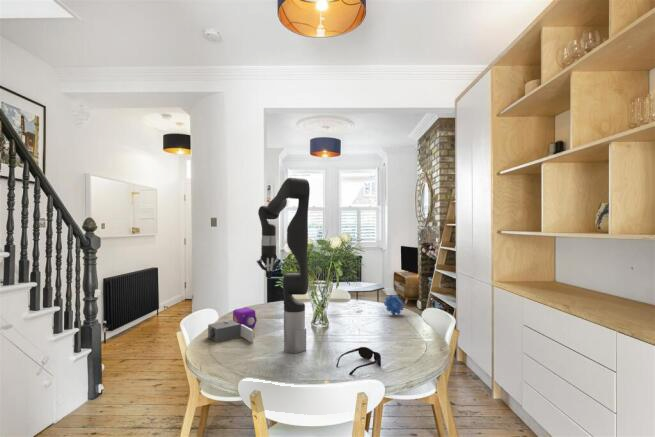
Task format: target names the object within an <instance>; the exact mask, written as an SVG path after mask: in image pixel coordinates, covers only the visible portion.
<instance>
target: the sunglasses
mask: <svg viewBox="0 0 655 437" xmlns="http://www.w3.org/2000/svg"><path fill="white" fill-rule="evenodd" d="M355 352H357V353H358V356H360V357H361V358H362V359H364V360H370V361H371V359H374V361H371V362H370V361H369V362H368V363H365V364H361V365H358V366H356V367H355V368H353V369H352V370H351V371H350V372H349V375H350V376H351V375H353V374H354V373H355V372H356V370H358V369H359V368H362V367H363V368H364V367H368V366H370V365H371V366H372V365H374V364H376V365H378V367H381V366H382V356H381V354H380V352H376V351H374V350H372V349H370V348H369V347H367V346H360V347H357V348H354V349H351V350H348V351H346V352H344V353H342V354H341V355H340V356H339V357H338V360H337V362H336V368H339V362H340V360H341V358H342V357H343V356H345V355H348V354H352V353H355Z"/></svg>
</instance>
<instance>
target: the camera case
mask: <svg viewBox="0 0 655 437" xmlns="http://www.w3.org/2000/svg"><path fill="white" fill-rule="evenodd" d="M240 326H241V324H239V323H237V322H235V321H233V319H229V320H225V321H220V322H215V323H209V324H208V325H207V337H208V338H209V339H210V340H212V341H214V342H215V343H216V342H217V343H219V342H223V341H227V340H232V339H236V338H240V337H241V330H240Z"/></svg>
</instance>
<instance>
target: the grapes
mask: <svg viewBox="0 0 655 437" xmlns="http://www.w3.org/2000/svg"><path fill="white" fill-rule="evenodd" d="M383 304H384V306H385V309H386V311H387V312H390V314H392V315H396V314H397V315H400V314H401V311H404V306H403V305H404V301H403V300H400V296H398V295H395V296H394V294H390V295H389V296H386V297H385V301H384V303H383Z"/></svg>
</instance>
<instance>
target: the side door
mask: <svg viewBox="0 0 655 437" xmlns="http://www.w3.org/2000/svg"><path fill="white" fill-rule="evenodd" d="M240 337H242V338H244V339H245V340H246V341H249V342H250V343H254V339H255V333H254V329H252V328H248V327H247V326H245V325H243V324H242V325H241V330H240Z"/></svg>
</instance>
